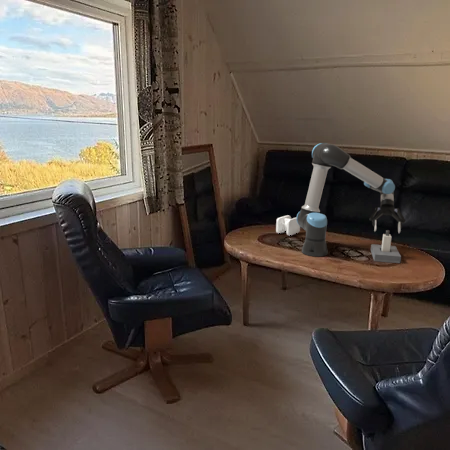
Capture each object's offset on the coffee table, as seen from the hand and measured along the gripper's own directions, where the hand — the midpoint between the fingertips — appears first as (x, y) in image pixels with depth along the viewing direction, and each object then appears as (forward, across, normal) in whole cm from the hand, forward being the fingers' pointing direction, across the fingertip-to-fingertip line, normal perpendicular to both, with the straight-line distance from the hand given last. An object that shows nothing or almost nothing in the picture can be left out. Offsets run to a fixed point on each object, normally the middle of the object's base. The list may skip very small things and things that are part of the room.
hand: (387, 231), depth 250 cm
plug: (+14, +1, -4) cm, 14 cm away
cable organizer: (-8, +61, -29) cm, 68 cm away
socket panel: (+14, +1, -5) cm, 15 cm away
